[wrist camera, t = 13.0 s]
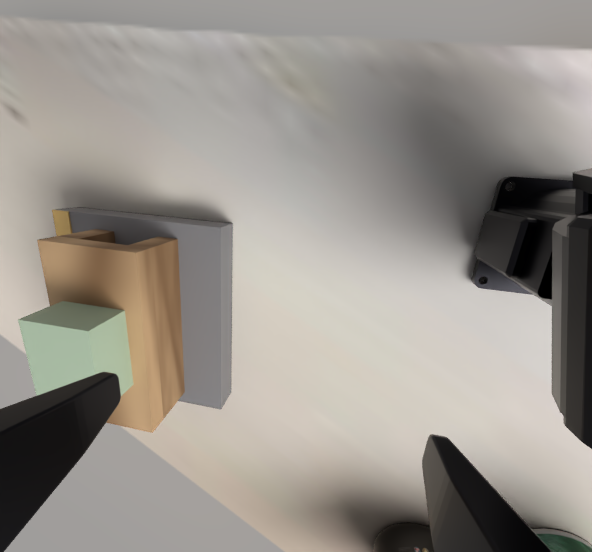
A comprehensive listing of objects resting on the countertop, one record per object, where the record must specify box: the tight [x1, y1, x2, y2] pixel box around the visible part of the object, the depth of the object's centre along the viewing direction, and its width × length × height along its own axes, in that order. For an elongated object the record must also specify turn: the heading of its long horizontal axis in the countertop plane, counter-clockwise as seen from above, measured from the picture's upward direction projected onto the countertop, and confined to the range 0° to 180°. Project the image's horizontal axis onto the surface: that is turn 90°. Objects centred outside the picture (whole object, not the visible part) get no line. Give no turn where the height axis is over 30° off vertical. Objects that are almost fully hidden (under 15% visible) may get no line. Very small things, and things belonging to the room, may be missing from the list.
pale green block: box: [18, 301, 134, 396], centre depth 17 cm, size 4×5×2 cm
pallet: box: [37, 229, 185, 433], centre depth 20 cm, size 6×12×4 cm, turn 175°
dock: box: [52, 207, 233, 409], centre depth 23 cm, size 12×14×2 cm
